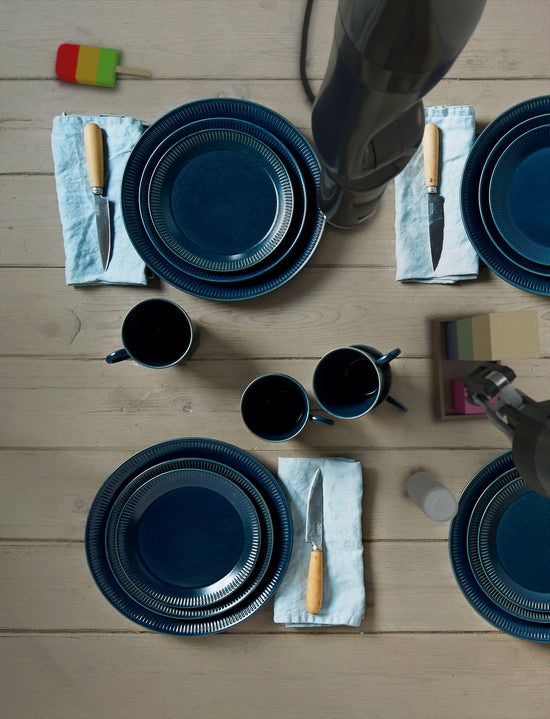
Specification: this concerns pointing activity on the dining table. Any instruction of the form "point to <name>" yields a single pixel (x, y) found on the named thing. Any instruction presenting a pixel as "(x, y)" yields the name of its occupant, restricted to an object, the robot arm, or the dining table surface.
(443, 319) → the tray
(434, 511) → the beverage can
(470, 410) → the mulberry block
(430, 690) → the dining table surface
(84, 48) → the popsicle
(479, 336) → the block tower
